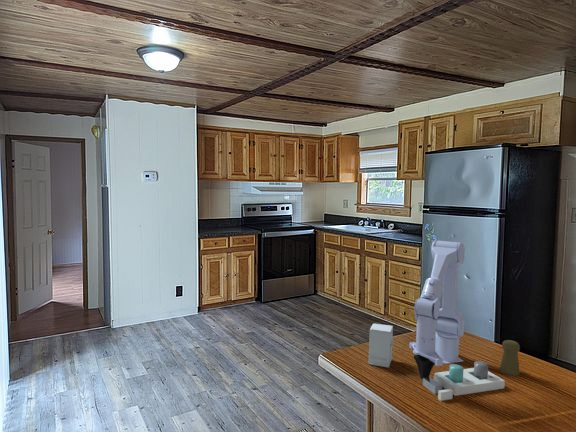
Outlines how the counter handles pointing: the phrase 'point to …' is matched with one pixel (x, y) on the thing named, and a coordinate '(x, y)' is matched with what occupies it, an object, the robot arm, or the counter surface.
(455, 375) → the teal rounded block
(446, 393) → the block
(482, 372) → the grey rounded block
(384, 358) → the supplement box
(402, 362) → the counter surface
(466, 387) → the housing
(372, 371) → the counter surface
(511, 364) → the cork
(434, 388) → the bar
